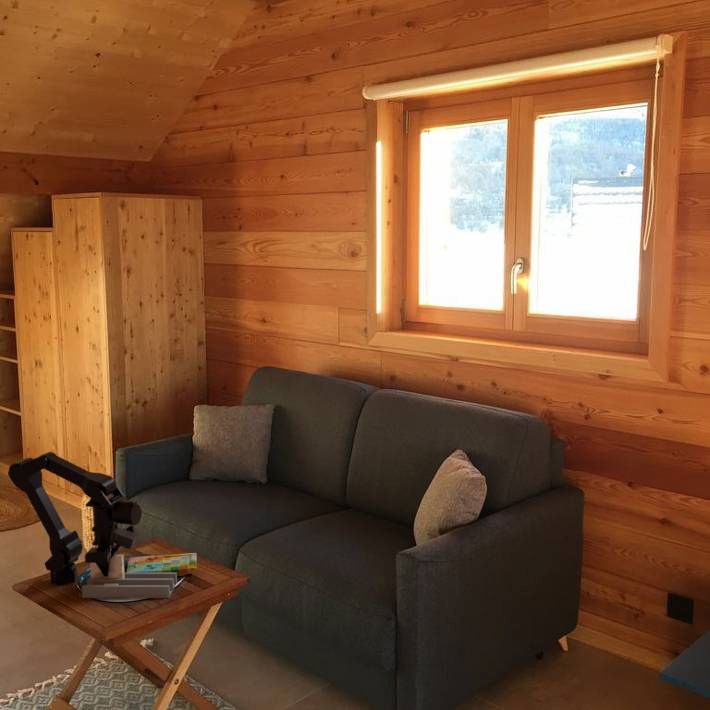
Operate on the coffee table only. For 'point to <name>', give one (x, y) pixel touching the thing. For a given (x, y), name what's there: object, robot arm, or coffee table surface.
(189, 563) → the puzzle game
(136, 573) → the rack
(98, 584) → the offcut dark
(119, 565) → the beige square panel
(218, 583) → the coffee table surface
